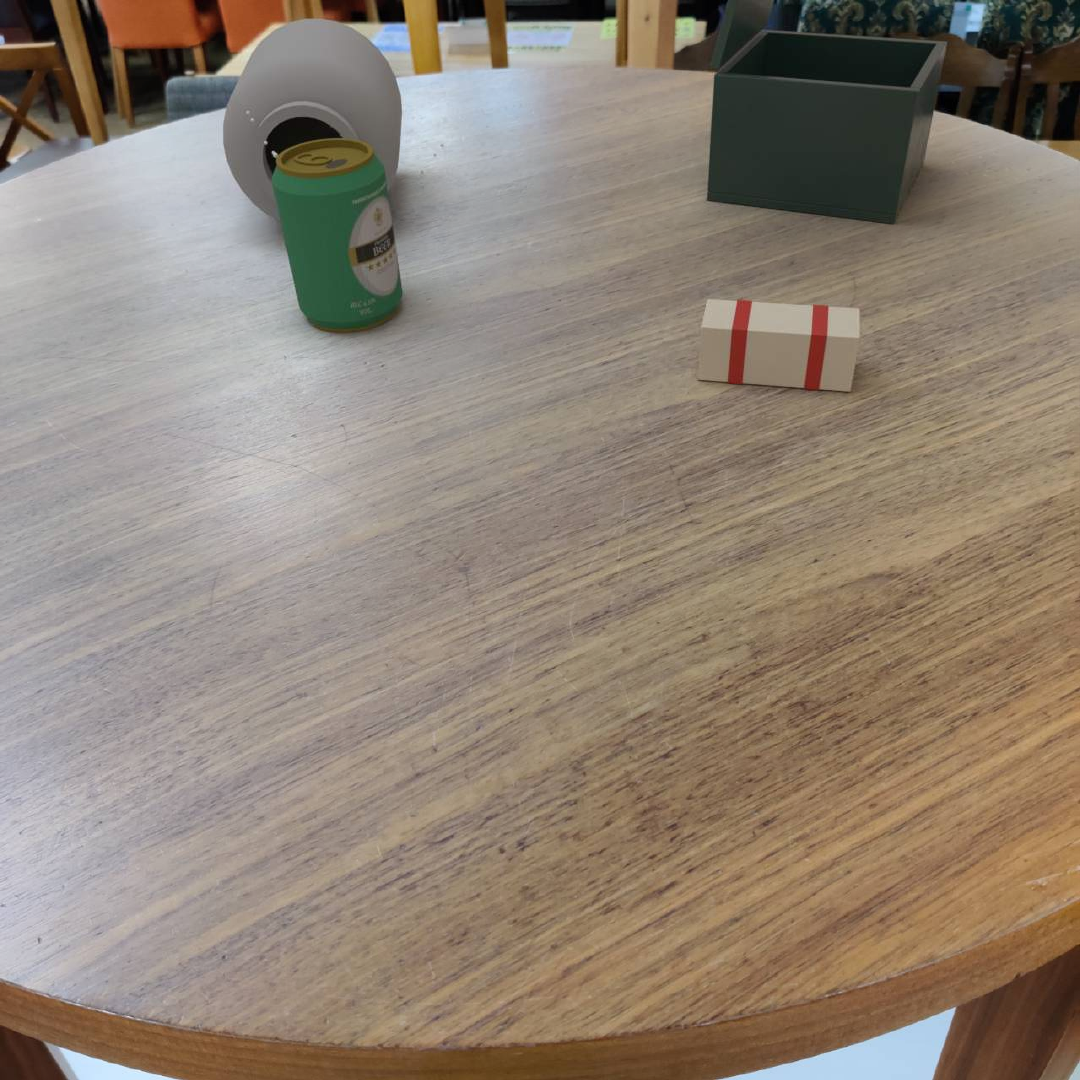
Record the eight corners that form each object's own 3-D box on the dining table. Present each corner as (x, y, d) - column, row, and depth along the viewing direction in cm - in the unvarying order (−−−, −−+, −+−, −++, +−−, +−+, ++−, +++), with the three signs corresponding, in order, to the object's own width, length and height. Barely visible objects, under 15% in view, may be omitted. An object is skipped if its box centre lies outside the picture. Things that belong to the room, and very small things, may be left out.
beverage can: (363, 343, 75) (334, 183, 67) (280, 322, 78) (243, 166, 70) (424, 297, 80) (403, 143, 72) (344, 279, 83) (316, 129, 76)
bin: (923, 164, 96) (947, 41, 89) (894, 224, 86) (918, 91, 79) (752, 146, 102) (762, 29, 95) (706, 200, 92) (713, 74, 85)
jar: (472, 118, 98) (426, 178, 77) (387, 236, 105) (323, 320, 83) (308, -23, 93) (210, -1, 71) (229, 111, 99) (119, 167, 78)
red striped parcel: (850, 361, 70) (859, 307, 67) (850, 393, 67) (860, 337, 64) (704, 350, 72) (707, 297, 69) (697, 381, 69) (700, 326, 66)
